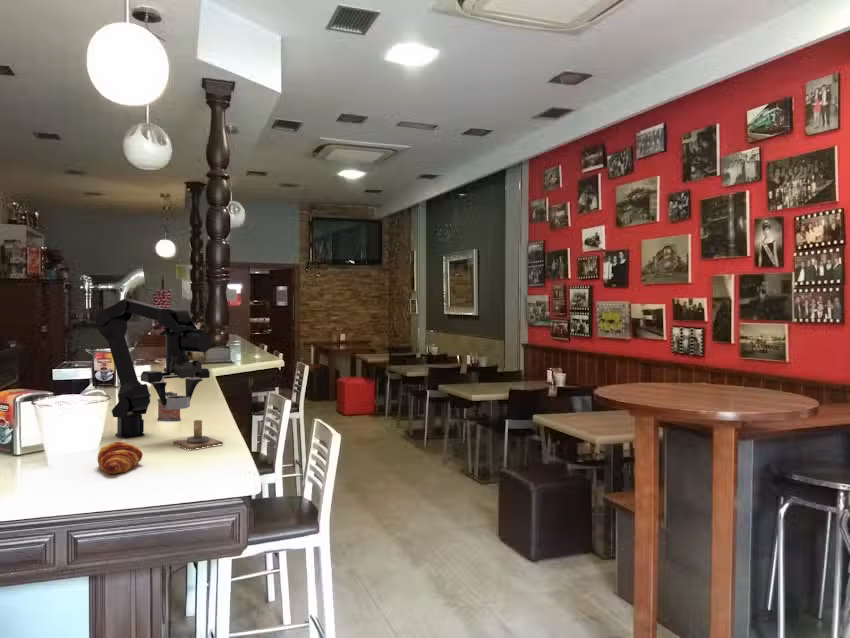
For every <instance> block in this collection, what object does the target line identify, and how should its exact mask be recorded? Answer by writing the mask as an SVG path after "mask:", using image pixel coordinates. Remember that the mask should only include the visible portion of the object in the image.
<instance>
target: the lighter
mask: <svg viewBox="0 0 850 638" xmlns="http://www.w3.org/2000/svg"><path fill="white" fill-rule="evenodd" d="M165 395H166V396H178V392H173V391H172V390H171V391H165ZM159 421H160V422H181V421H182V419H181V409H164V408H162V402H161V400H160V398H157V422H159Z"/></svg>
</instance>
